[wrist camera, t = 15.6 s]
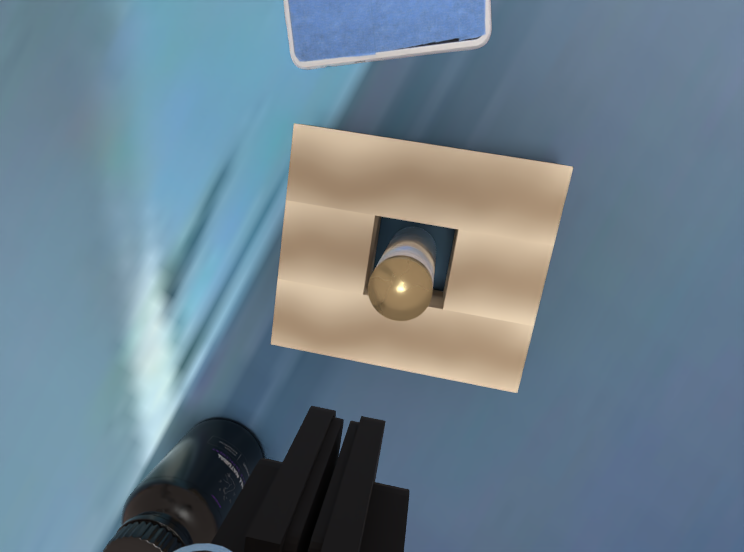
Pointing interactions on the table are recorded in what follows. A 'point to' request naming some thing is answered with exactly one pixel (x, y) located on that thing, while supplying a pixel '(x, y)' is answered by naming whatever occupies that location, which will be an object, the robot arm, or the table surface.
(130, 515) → the supplement bottle
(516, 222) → the block
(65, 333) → the table surface
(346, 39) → the tablet computer
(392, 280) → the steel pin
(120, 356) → the table surface
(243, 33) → the table surface
